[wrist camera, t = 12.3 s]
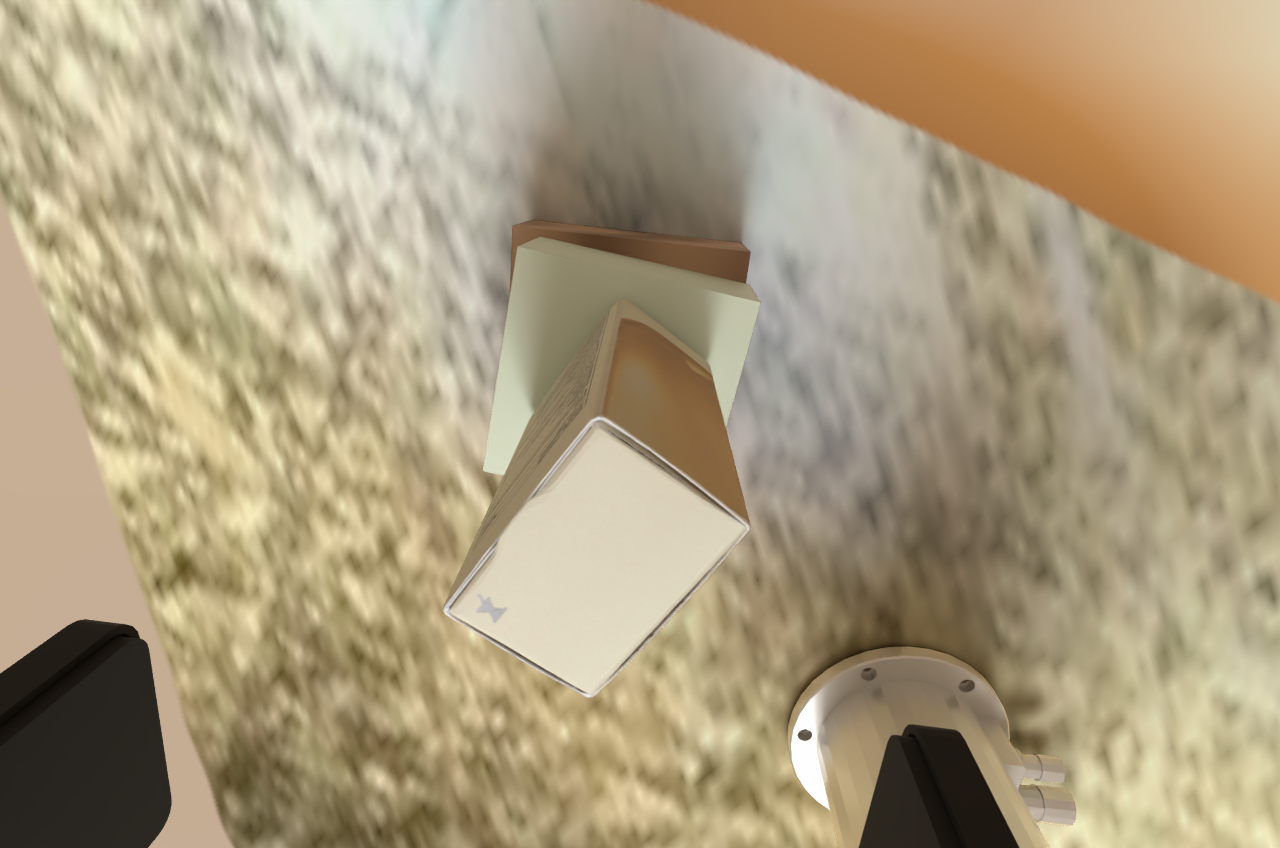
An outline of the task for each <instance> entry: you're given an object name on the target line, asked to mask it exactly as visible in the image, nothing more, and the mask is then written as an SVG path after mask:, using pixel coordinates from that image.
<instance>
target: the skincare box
mask: <svg viewBox="0 0 1280 848" xmlns="http://www.w3.org/2000/svg"><path fill="white" fill-rule="evenodd" d="M750 528H751V527H750V522H749V518H748V514H747V510H746V506H745V502H744V498H743V494H742V490H741V486H740V482H739V478H738V475H737V471H736V467H735V463H734V459H733V454H732V451H731V447H730V444H729V439H728V435H727V431H726V427H725V423H724V419H723V415H722V411H721V407H720V404H719V400H718V396H717V392H716V388H715V384H714V380H713V375H712V372H711V367H710V365H709V363H708V362H707V361H705V360H704V359H703V358H702V357H700V356H699V355H698V354H697V353H696V352H694V351H693V350H692V349H691V348H689V347H688V346H687V345H686V344H685V343H683V342H682V341H680V340H679V339H678V338H677V337H676V336H674V335H673V334H672V333H671V332H669V331H668V330H667V329H665V328H664V327H663V326H662V325H660V324H659V323H658V322H656V321H655V320H654V319H652V318H651V317H650V316H648V315H647V314H646V313H644V312H643V311H642V310H640V309H639V308H638V307H636V306H635V305H634V304H632V303H631V302H629V301H628V300H626V299H619V300H618V301H617V302H616V303H615V304H614V305H613V306H612V308H611V309H610V310H609V311H608V313H607V314H606V315H605V316H604V318H603V319H602V320H601V321H600V323H599V324H598V325H597V326H596V328H595V329H594V330H593V332H592V333H591V334H590V336H589V337H588V338H587V339H586V341H585V342H584V343H583V345H582V346H581V347H580V349H579V350H578V351H577V353H576V354H575V355H574V357H573V358H572V360H571V361H570V362H569V364H568V365H567V366H566V368H565V369H564V370H563V372H562V373H561V375H560V376H559V377H558V379H557V380H556V381H555V383H554V384H553V386H552V387H551V388H550V390H549V391H548V393H547V394H546V395H545V397H544V398H543V400H542V401H541V403H540V404H539V406H538V407H537V409H536V410H535V411H534V413H533V414H532V416H531V418H530V419H529V421H528V423H527V426H526V428H525V430H524V432H523V435H522V437H521V439H520V441H519V443H518V445H517V448H516V450H515V452H514V454H513V457H512V459H511V461H510V463H509V465H508V467H507V469H506V472H505V474H504V476H503V478H502V480H501V483H500V485H499V487H498V489H497V491H496V494H495V496H494V498H493V500H492V502H491V504H490V507H489V509H488V511H487V513H486V515H485V517H484V519H483V521H482V524H481V526H480V528H479V530H478V532H477V535H476V537H475V539H474V541H473V543H472V545H471V547H470V550H469V552H468V554H467V556H466V558H465V561H464V563H463V565H462V567H461V569H460V572H459V574H458V576H457V578H456V580H455V583H454V585H453V587H452V589H451V592H450V594H449V596H448V598H447V600H446V602H445V604H444V607H443V611H444V613H445V614H446V615H447V616H449V617H450V618H452V619H453V620H455V621H457V622H459V623H461V624H463V625H464V626H466V627H468V628H469V629H471V630H472V631H474V632H475V633H477V634H478V635H480V636H482V637H484V638H485V639H487V640H488V641H490V642H492V643H493V644H495V645H496V646H498V647H500V648H502V649H503V650H505V651H507V652H508V653H510V654H512V655H513V656H515V657H517V658H518V659H520V660H521V661H523V662H525V663H526V664H528V665H530V666H532V667H533V668H535V669H537V670H538V671H540V672H542V673H544V674H545V675H547V676H549V677H551V678H552V679H554V680H556V681H557V682H559V683H561V684H564V685H566V686H568V687H569V688H571V689H573V690H575V691H577V692H578V693H580V694H581V695H583V696H585V697H593V696H594V695H596V694H597V693H598V692H599V691H600V690H601V689H602V688H603V687H604V686H605V685H607V684H608V683H609V682H610V681H611V680H612V679H613V678H614V677H615V676H616V675H617V674H618V673H619V672H620V671H621V670H622V669H624V667H625V666H626V665H627V664H628V663H629V662H630V661H631V660H632V659H633V658H634V657H635V656H636V655H637V654H638V653H639V652H641V650H642V649H643V648H644V647H645V646H646V645H647V644H648V643H649V642H650V641H651V640H652V639H653V638H654V636H655V635H656V634H657V633H658V632H659V631H660V630H661V629H662V628H663V627H664V626H665V625H666V624H667V622H668V621H669V620H670V619H671V618H672V617H673V616H674V615H675V614H676V613H677V612H678V611H679V609H680V608H681V607H682V606H683V605H684V604H685V603H686V602H687V601H688V600H689V598H690V597H691V596H692V595H693V594H694V593H695V592H696V591H697V589H698V588H699V587H700V586H701V585H702V584H703V583H704V582H705V581H706V580H707V579H708V577H709V576H710V575H711V574H712V573H713V572H714V570H715V569H716V568H717V567H718V566H719V564H720V563H721V562H722V561H723V560H724V559H725V558H726V557H727V556H728V554H729V553H730V552H731V551H732V550H733V548H734V547H735V546H736V545H737V544H738V543H739V542H740V540H741V539H742V538H743V537H744V536H745V535H746V534H747V532H748V531H749V530H750Z"/></svg>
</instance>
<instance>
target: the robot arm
mask: <svg viewBox="0 0 1280 848" xmlns="http://www.w3.org/2000/svg"><path fill="white" fill-rule="evenodd" d="M788 747H789V753H790V759H791V763H792V765H793V768H794V771H795V774H796V776H797V778H798V779H799V781H800V783H801V784H802V786H803V787H804V789H805V790H806V791H807V792H808V793H809V794H810V795H811V796H812V797H813V798H814V799H815V800H816V801H817V802H818V803H820V804H821V805H822V806H824V807H825V808H827V809H828V810H830V813H831V818H832V822H833V826H834V830H835V834H836V839H837V843H838V847H839V848H1049V846H1048V844H1047V842H1046V840H1045V838H1044V837H1043V835H1042V833H1041V831H1040V829H1039V828H1038V826H1037V824H1036V822H1040V823H1048V824H1056V825H1065V826H1070V825H1073V823H1074V821H1075V820H1076V806H1075V801H1074V799H1073V797H1072V795H1071V793H1070V792H1069V791H1068V790H1067V789H1065V788H1059V787H1051V786H1043V785H1034V784H1031V785H1030V786H1027V785H1020V783H1021V780H1022V779H1023V778H1030V779H1035V780H1036V781H1045V782H1053V783H1062V782H1063V781H1064V780H1065V774H1066V773H1065V766H1064V764H1063V762H1062V760H1061V759H1060V758H1059V757H1056V756H1048V755H1040V754H1032V755H1029V754H1021V753H1020V751H1019V750H1018V749H1017V748H1015V747H1013V746H1012V745H1011V743H1010V731H1009V721H1008V718H1007V715H1006V712H1005V709H1004V706H1003V704H1002V703H1001V701H1000V699H999V698H998V696H997V694H996V693H995V691H994V689H993V688H992V687H991V685H990V684H989V683H988V682H987V681H986V679H985V678H984V677H983V676H982V675H981V674H980V673H979V672H977V671H976V670H975V669H973V668H972V667H971V666H970V665H968V664H967V663H965V662H963V661H961V660H959V659H957V658H955V657H953V656H951V655H949V654H945V653H942V652H938V651H935V650H931V649H926V648H917V647H909V646H908V647H886V648H881V649H876V650H871V651H866V652H863V653H860V654H857V655H855V656H852V657H849V658H846V659H844V660H843V661H841V662H839V663H837V664H835V665H834V666H832V667H830V668H828V669H827V670H826V671H824V672H823V673H822V674H821V675H820V676H818V677H817V678H816V679H815V680H813V681H812V682H811V684H810V685H809V686H808V687H807V688H806V690H805V691H804V692H803V693H802V694H801V696H800V698H799V699H798V701H797V703H796V705H795V707H794V709H793V711H792V714H791V718H790V721H789V725H788ZM170 810H171V792H170V786H169V779H168V773H167V766H166V759H165V752H164V746H163V739H162V732H161V726H160V719H159V713H158V706H157V699H156V694H155V687H154V679H153V673H152V666H151V660H150V654H149V648H148V645H147V643H146V642H145V641H144V640H142V639H140V637H139V634H138V631H137V630H136V629H135V628H134V627H133V626H129V625H126V624H117V623H110V622H101V621H94V620H86V619H85V620H79V621H76V622H74V623H72V624H70V625H68V626H67V627H65V628H64V629H62V630H61V631H60V632H58V633H57V634H55V635H54V636H52V637H51V638H50V639H48V640H47V641H46V642H44V643H43V644H41V645H40V646H38V647H37V648H36V649H34V650H33V651H31V652H30V653H29V654H27V655H26V656H24V657H23V658H22V659H20V660H19V661H17V662H16V663H15V664H13V665H12V666H11V667H9V668H7V669H6V670H5V671H3V672H2V673H0V848H148V847H149V846H150V845H151V843H152V842H153V841H154V840H155V838H156V837H157V836H158V835H159V833H160V832H161V830H162V829H163V827H164V825H165V823H166V821H167V819H168V816H169V813H170ZM1035 821H1036V822H1035Z"/></svg>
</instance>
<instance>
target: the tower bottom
mask: <svg viewBox="0 0 1280 848" xmlns="http://www.w3.org/2000/svg"><path fill="white" fill-rule="evenodd" d="M538 237H545V238H550V239H554V240H558V241H563V242H567V243H571V244H576V245H580V246H584V247H589V248H593V249H597V250H602V251H606V252H610V253H615V254H619V255H623V256H628V257H632V258H637V259H641V260H645V261H650V262H654V263H658V264H663V265H667V266H671V267H676V268H680V269H684V270H689V271H693V272H697V273H702V274H706V275H710V276H715V277H719V278H724V279H728V280H732V281H737V282H741V283H745V284H746V279H747V272H748V266H749V259H750V251H749V250H748V249H747V248H746V247H745V246H744V245H743V243H738V242H729V241H720V240H711V239H702V238H692V237H683V236H674V235H665V234H656V233H647V232H638V231H629V230H620V229H610V228H601V227H592V226H583V225H574V224H565V223H556V222H547V221H538V220H530V221H527V222H524V223H520V224H517V225H513V227H512V252H511V278H510V291H511V285H512V278H513V272H514V266H515V259H516V253H517V247H518V246H520V245H522V244H524V243H527V242H529V241H531V240H534V239H536V238H538Z"/></svg>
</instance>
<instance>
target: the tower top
mask: <svg viewBox="0 0 1280 848" xmlns="http://www.w3.org/2000/svg"><path fill="white" fill-rule="evenodd" d="M619 299H626V300H628V301H629V302H631V303H632V304H634V305H635V306H636V307H638V308H639V309H640V310H642V311H643V312H644V313H646V314H647V315H648V316H650V317H651V318H652V319H654V320H655V321H656V322H658V323H659V324H660V325H662V326H663V327H664V328H665V329H667V330H668V331H669V332H671V333H672V334H673V335H674V336H676V337H677V338H678V339H679V340H680V341H682V342H683V343H685V344H686V345H687V346H688V347H689V348H691V349H692V350H693V351H694V352H696V353H697V354H698V355H699V356H700V357H702V358H703V359H704V360H705V361H707V362H708V363H709V365H710V367H711V372H712V375H713V380H714V384H715V388H716V392H717V396H718V400H719V404H720V407H721V411H722V415H723V419H724V423H725V427H726V426H727V423H728V419H729V415H730V412H731V408H732V405H733V401H734V397H735V394H736V390H737V387H738V383H739V380H740V376H741V372H742V369H743V365H744V362H745V358H746V354H747V351H748V347H749V344H750V340H751V336H752V333H753V329H754V326H755V322H756V318H757V315H758V311H759V308H760V304H761V302H760V300H759V299H758V297H757V296H756V294H755V292H754V291H753V289H752V288H751V286H750V285H749V284H745V283H741V282H737V281H732V280H728V279H724V278H719V277H715V276H710V275H706V274H702V273H697V272H693V271H689V270H684V269H680V268H676V267H671V266H667V265H663V264H658V263H654V262H650V261H645V260H641V259H637V258H632V257H628V256H623V255H619V254H615V253H610V252H606V251H602V250H597V249H593V248H589V247H584V246H580V245H576V244H571V243H567V242H563V241H558V240H554V239H550V238H545V237H538V238H536V239H534V240H531V241H529V242H527V243H524V244H522V245H520V246H518V247H517V253H516V259H515V266H514V272H513V278H512V285H511V291H510V298H509V304H508V311H507V317H506V324H505V330H504V337H503V343H502V350H501V356H500V363H499V369H498V376H497V382H496V388H495V395H494V401H493V408H492V414H491V421H490V427H489V434H488V440H487V447H486V453H485V460H484V466H483V471H486V472H490V473H495V474H499V475H504V474H505V472H506V469H507V467H508V465H509V463H510V461H511V459H512V457H513V454H514V452H515V450H516V448H517V445H518V443H519V441H520V439H521V437H522V435H523V432H524V430H525V428H526V426H527V423H528V421H529V419H530V418H531V416H532V414H533V413H534V411H535V410H536V409H537V407H538V406H539V404H540V403H541V401H542V400H543V398H544V397H545V395H546V394H547V393H548V391H549V390H550V388H551V387H552V386H553V384H554V383H555V381H556V380H557V379H558V377H559V376H560V375H561V373H562V372H563V370H564V369H565V368H566V366H567V365H568V364H569V362H570V361H571V360H572V358H573V357H574V355H575V354H576V353H577V351H578V350H579V349H580V347H581V346H582V345H583V343H584V342H585V341H586V339H587V338H588V337H589V336H590V334H591V333H592V332H593V330H594V329H595V328H596V326H597V325H598V324H599V323H600V321H601V320H602V319H603V318H604V316H605V315H606V314H607V313H608V311H609V310H610V309H611V308H612V306H613V305H614V304H615V303H616V302H617V301H618V300H619Z"/></svg>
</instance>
